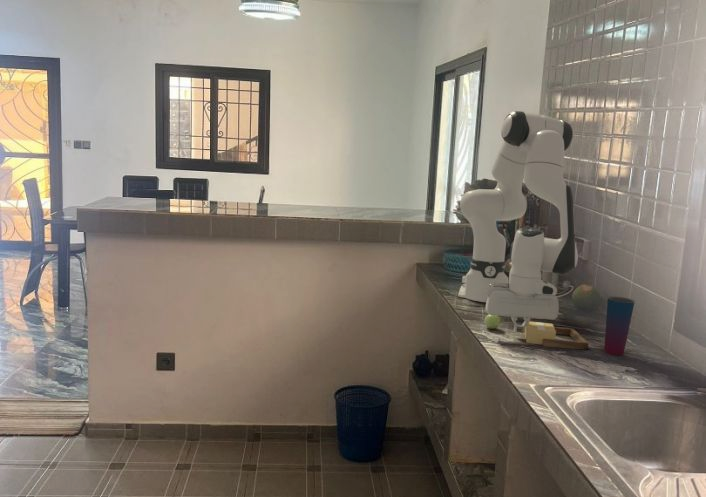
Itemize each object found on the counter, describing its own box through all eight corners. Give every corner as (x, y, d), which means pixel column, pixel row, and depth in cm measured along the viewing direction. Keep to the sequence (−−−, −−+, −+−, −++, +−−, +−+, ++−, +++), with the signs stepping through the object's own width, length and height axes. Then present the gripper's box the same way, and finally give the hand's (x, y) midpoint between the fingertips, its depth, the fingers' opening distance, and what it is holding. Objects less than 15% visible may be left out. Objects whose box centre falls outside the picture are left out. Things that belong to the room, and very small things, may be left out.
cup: (629, 357, 173) (637, 303, 170) (603, 354, 174) (610, 301, 172) (624, 350, 180) (631, 297, 177) (598, 347, 181) (605, 295, 178)
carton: (524, 335, 188) (526, 320, 188) (550, 338, 187) (552, 323, 186) (526, 343, 181) (528, 328, 180) (554, 346, 179) (556, 331, 179)
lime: (482, 325, 195) (484, 311, 194) (497, 326, 195) (499, 312, 194) (485, 330, 190) (486, 315, 190) (500, 331, 190) (502, 316, 189)
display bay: (531, 331, 192) (531, 325, 192) (572, 333, 192) (573, 328, 192) (543, 346, 178) (544, 340, 178) (587, 349, 178) (588, 343, 178)
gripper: (489, 284, 180) (484, 332, 182) (562, 289, 179) (557, 337, 182) (485, 279, 186) (481, 325, 189) (557, 284, 185) (551, 331, 188)
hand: (519, 331), depth 185 cm, fingers closed
